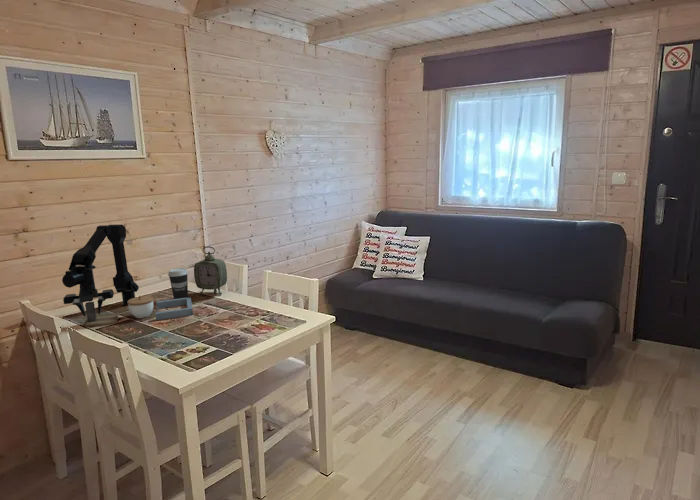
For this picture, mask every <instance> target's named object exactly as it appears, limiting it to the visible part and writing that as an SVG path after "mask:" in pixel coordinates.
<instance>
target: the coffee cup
mask: <svg viewBox="0 0 700 500" xmlns="http://www.w3.org/2000/svg"><path fill="white" fill-rule="evenodd" d="M188 274H189V271H188V270H187V268H184V267H178V268H177V267H176V268H172V269H169V271H168V273H167V276H168V277H169V278H168V279H169V282H170V286H171V291H172V296H173V299H180V298H187V297H189V295H188V294H189V292H188V291H189V289H188V288H189V287H188V286H189V285H188V281H189V280H188Z"/></svg>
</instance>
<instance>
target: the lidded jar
mask: <svg viewBox="0 0 700 500" xmlns="http://www.w3.org/2000/svg"><path fill="white" fill-rule="evenodd" d="M127 303H128V305H127V306H128V311H129V313H130V314H131V315H132V316H133V317H135V318H136V319H144V318H148V317H149V316H151V313H152V312H153V311H154V297H153V296H151V295H144V296H143V295H139V296H135V298H132V299H130V300H128V301H127Z"/></svg>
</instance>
